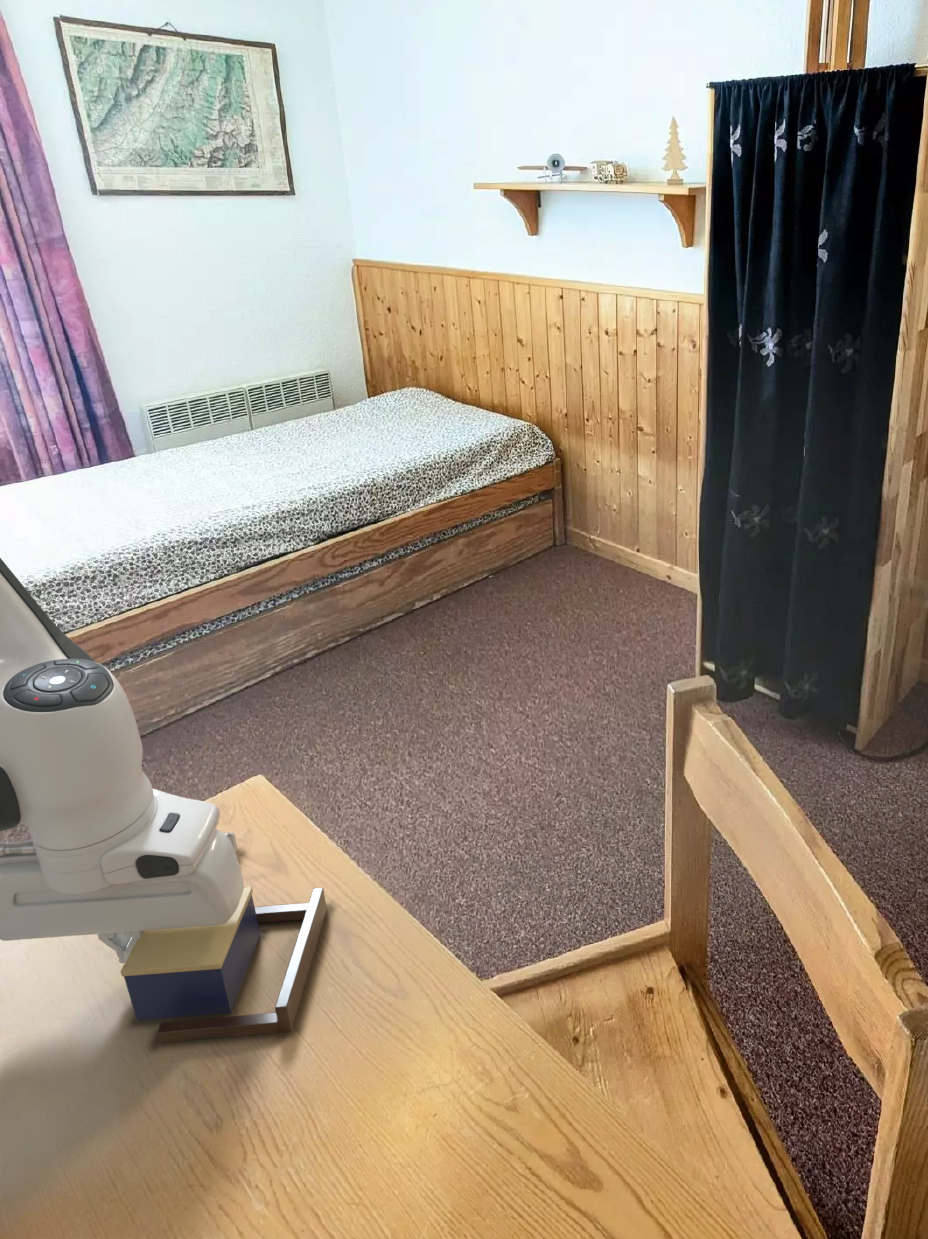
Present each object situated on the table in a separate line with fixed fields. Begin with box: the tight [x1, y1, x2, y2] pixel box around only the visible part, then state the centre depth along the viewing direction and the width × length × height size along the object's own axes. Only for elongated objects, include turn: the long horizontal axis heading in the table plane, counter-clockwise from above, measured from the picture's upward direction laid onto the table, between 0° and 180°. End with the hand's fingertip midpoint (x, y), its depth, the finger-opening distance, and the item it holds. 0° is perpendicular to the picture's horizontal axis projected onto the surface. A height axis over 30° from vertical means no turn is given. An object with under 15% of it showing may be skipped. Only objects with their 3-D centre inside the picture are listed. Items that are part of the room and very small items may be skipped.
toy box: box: [120, 886, 261, 1022], centre depth 75 cm, size 8×8×6 cm
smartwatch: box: [223, 831, 238, 851], centre depth 88 cm, size 4×2×4 cm, turn 13°
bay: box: [156, 887, 328, 1044], centre depth 76 cm, size 11×13×3 cm
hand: (134, 956), depth 75 cm, fingers closed
